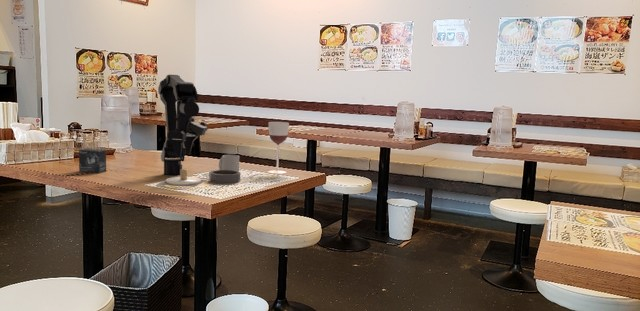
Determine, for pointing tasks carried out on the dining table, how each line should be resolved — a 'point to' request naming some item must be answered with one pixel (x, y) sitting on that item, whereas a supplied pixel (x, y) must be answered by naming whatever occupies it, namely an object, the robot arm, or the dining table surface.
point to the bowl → (224, 176)
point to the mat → (183, 185)
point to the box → (92, 160)
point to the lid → (183, 179)
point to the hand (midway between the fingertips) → (183, 155)
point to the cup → (229, 162)
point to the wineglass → (278, 138)
